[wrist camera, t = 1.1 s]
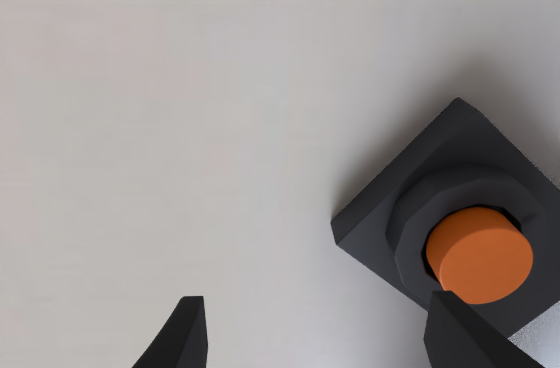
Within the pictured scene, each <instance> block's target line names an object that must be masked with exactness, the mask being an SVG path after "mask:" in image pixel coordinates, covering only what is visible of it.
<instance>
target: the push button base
mask: <svg viewBox="0 0 560 368" xmlns="http://www.w3.org/2000/svg"><path fill="white" fill-rule="evenodd" d="M470 207H485V208H490V209H493V210H496V211H498V212H499V213H501V214H502V215H504V216H505V217H506V218H507V219H508V220H509V221H510V222H511V223H512V225H513V226H514V227H515V228H516V229H517V230H518V231H519V232H520V233H521V234H522V235H523V236H524V237H525V238H526V239H527V240H528V242H529V243H530V245H531V248H532V252H533V264H532V268H531V270H530V273H529V275H528V276H527V278H526V279H525V281H524V282H523V283H522V284H521V285H520V286H519V287H518V288H517V289H516V290H515V291H513V292H512V293H510V294H509V295H507V296H505V297H503V298H501V299H499V300H496V301H493V302H489V303H483V304H469V303H467V304H468V305H469V306H470V307H471V308H472V309H473V310H474V311H476V312H477V313H478V314H479V315H480V316H481V317H482V318H483V319H485V320H486V321H487V322H488V323H489V324H490V325H491V326H493V327H494V328H495V329H496V330H497V331H499V332H500V333H501V334H502V335H503V336H505V337H506V338H509V337H510V336H511V335H513V334H514V333H516V332H517V331H518V330H520V329H521V328H522V327H524V326H525V325H527V324H528V323H529V322H531V321H532V320H533V319H535V318H536V317H538V316H539V315H540V314H542V313H543V312H544V311H546V310H547V309H549V308H550V307H551V306H553V305H554V304H555V303H557V302H558V301H559V300H560V190H559V189H558V188H557V187H556V186H555V185H554V184H553V183H552V182H551V181H550V180H549V179H547V178H546V177H545V176H544V175H543V174H542V173H541V172H540V171H539V170H538V169H537V168H536V167H535V166H534V165H533V164H532V163H531V162H530V161H529V160H528V159H527V158H526V157H525V156H524V155H523V154H522V153H521V152H520V151H519V150H518V149H517V148H516V147H515V146H514V145H513V144H512V143H511V142H510V141H509V140H508V139H507V138H506V137H505V136H504V135H503V134H502V133H501V132H500V131H499V130H498V129H497V128H496V127H495V126H494V125H493V124H492V123H491V122H490V121H489V120H488V119H487V118H486V117H485V116H484V115H483V114H481V113H480V112H479V111H478V110H477V109H476V108H474V107H473V106H471V105H470V104H468V103H467V102H465V101H464V100H462V99H461V98H459V97H457V98H456V99H455V100H454V101H453V102H452V103H451V104H450V105H449V106H448V107H447V108H446V109H445V110H444V111H443V112H442V113H441V114H440V115H439V116H438V117H437V118H436V119H435V120H434V121H433V122H432V123H431V124H430V125H429V126H428V127H427V128H426V129H425V130H424V131H423V132H422V133H421V134H420V135H419V136H418V137H416V138H415V139H414V140H413V141H412V142H411V143H410V144H409V145H408V146H407V147H406V148H405V149H404V150H403V151H402V152H401V153H400V154H399V155H398V156H397V157H396V158H395V159H394V160H393V161H392V162H391V163H390V164H389V165H388V166H387V167H386V168H385V169H384V170H383V171H382V172H381V173H380V174H379V175H378V176H377V177H376V178H375V179H374V180H373V181H372V182H371V183H370V184H369V185H368V186H367V187H366V188H365V189H364V190H363V191H362V192H361V193H360V194H359V195H358V196H357V197H356V198H355V199H354V200H352V201H351V202H350V203H349V204H348V205H347V206H346V207H345V208H344V209H343V210H342V211H341V212H340V213H339V214H338V215H337V216H336V217H335V218H334V219H333V220H332V221H331V227H332V231H333V235H334V239H335V243H336V245H337V246H339V247H340V248H341V249H343V250H344V251H345V252H347V253H348V254H350V255H351V256H352V257H354V258H355V259H356V260H358V261H359V262H361V263H362V264H363V265H365V266H366V267H367V268H369V269H370V270H372V271H373V272H374V273H376V274H377V275H378V276H380V277H381V278H382V279H384V280H385V281H387V282H388V283H389V284H391V285H392V286H393V287H395V288H396V289H398V290H399V291H400V292H402V293H403V294H404V295H406V296H407V297H409V298H410V299H411V300H413V301H414V302H415V303H417V304H418V305H420V306H421V307H422V308H424V309H425V310H426V311H428V312H429V306H430V301H431V295H432V291H445V290H444V289H443V287H442V286H441V284H440V282H439V280H438V278H437V277H436V275H435V273H434V271H433V269H432V268H431V266H430V264H429V262H428V259H427V255H426V246H427V242H428V238H429V236H430V234H431V232H432V231H433V229H434V228H435V227H436V226H437V224H438V223H439V222H440V221H442V220H443V219H444V218H445V217H447V216H449V215H450V214H452V213H454V212H456V211H459V210H461V209H465V208H470Z"/></svg>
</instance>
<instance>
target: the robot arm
mask: <svg viewBox="0 0 560 368" xmlns="http://www.w3.org/2000/svg"><path fill="white" fill-rule="evenodd" d="M423 340H424V343H425V347H426V350H427V354H428V357H429V361H430V364H431V367H432V368H545V367H543V366H542V365H541V364H539V363H538V362H537V361H535V360H534V359H533V358H531V357H530V356H529V355H527V354H526V353H525V352H523V351H522V350H521V349H519V348H518V347H517V346H516V345H514V344H513V343H512V342H511V341H509V340H508V339H507V338H506V337H505V336H503V335H502V334H501V333H500V332H499V331H497V330H496V329H495V328H494V327H493V326H491V325H490V324H489V323H488V322H487V321H486V320H485V319H483V318H482V317H481V316H480V315H479V314H478V313H477V312H476V311H474V310H473V309H472V308H471V307H470V306H469V305H468V304H467V303H465V302H464V301H463V300H462V299H461V298H460V297H459V296H457V295H456V294H455V293H454V292H453V291H452V290H448V291H432V295H431V301H430V306H429V312H428V317H427V323H426V328H425V334H424V339H423ZM207 352H208V339H207V329H206V319H205V309H204V299H203V296H184V297H183V298H181V299H180V301H179V303H178V304H177V306H176V308H175V309H174V311H173V312H172V314H171V316H170V317H169V319H168V320H167V322H166V323H165V325H164V326H163V328H162V329H161V330H160V332H159V333H158V335H157V336H156V337H155V339H154V340H153V342H152V343H151V344H150V346H149V347H148V348H147V350H146V351H145V352H144V353H143V355H142V356H141V357H140V358H139V359H138V361H137V362H136V363H135V364H134V366H133V367H132V368H206V362H207Z"/></svg>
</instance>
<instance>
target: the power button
mask: <svg viewBox="0 0 560 368" xmlns="http://www.w3.org/2000/svg"><path fill="white" fill-rule="evenodd" d="M426 255H427V259H428V262H429V264H430V266H431V268H432V269H433V271H434V273H435V275H436V277H437V278H438V280H439V282H440V284H441V286H442V287H443V289H444V290H445V291H448V290H452V291H453V292H454V293H455V294H456V295H457V296H459V297H460V298H461V299H462V300H463V301H464V302H465V303H469V304H483V303H489V302H493V301H496V300H499V299H501V298H503V297H505V296H507V295H509V294H510V293H512V292H513V291H515V290H516V289H517V288H518V287H519V286H520V285H521V284H522V283H523V282H524V281H525V279H526V278H527V276H528V275H529V273H530V270H531V268H532V264H533V252H532V248H531V245H530V243H529V242H528V240H527V239H526V238H525V237H524V236H523V235H522V234H521V233H520V232H519V231H518V230H517V229H516V228H515V227H514V226H513V225H512V223H511V222H510V221H509V220H508V219H507V218H506V217H505V216H504V215H502V214H501V213H499V212H498V211H496V210H493V209H490V208H485V207H470V208H465V209H461V210H459V211H456V212H454V213H452V214H450V215H449V216H447V217H445V218H444V219H443V220H442V221H440V222H439V223H438V224H437V226H436V227H435V228H434V229H433V231H432V232H431V234H430V236H429V238H428V242H427V246H426Z"/></svg>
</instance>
